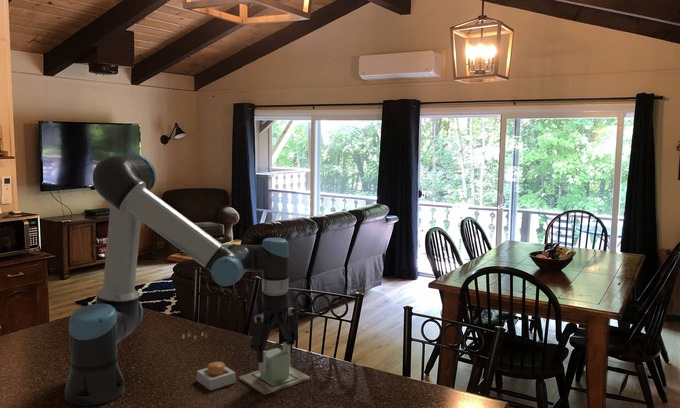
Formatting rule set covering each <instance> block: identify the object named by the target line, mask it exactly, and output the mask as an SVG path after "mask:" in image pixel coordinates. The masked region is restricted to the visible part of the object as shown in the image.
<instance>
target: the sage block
mask: <svg viewBox="0 0 680 408" xmlns="http://www.w3.org/2000/svg"><path fill="white" fill-rule="evenodd" d="M265 351H266V374H263V373H261V372H260V376H262V377H263V378H265V379H267V380H268V381H270V382H275V381H279V380H282V379H285V378H288V377H289V354H288V353H286V352H284V351H283V349H281V348H278V347H276V348H275V347H274V348H272V349H269V350H265Z"/></svg>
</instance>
